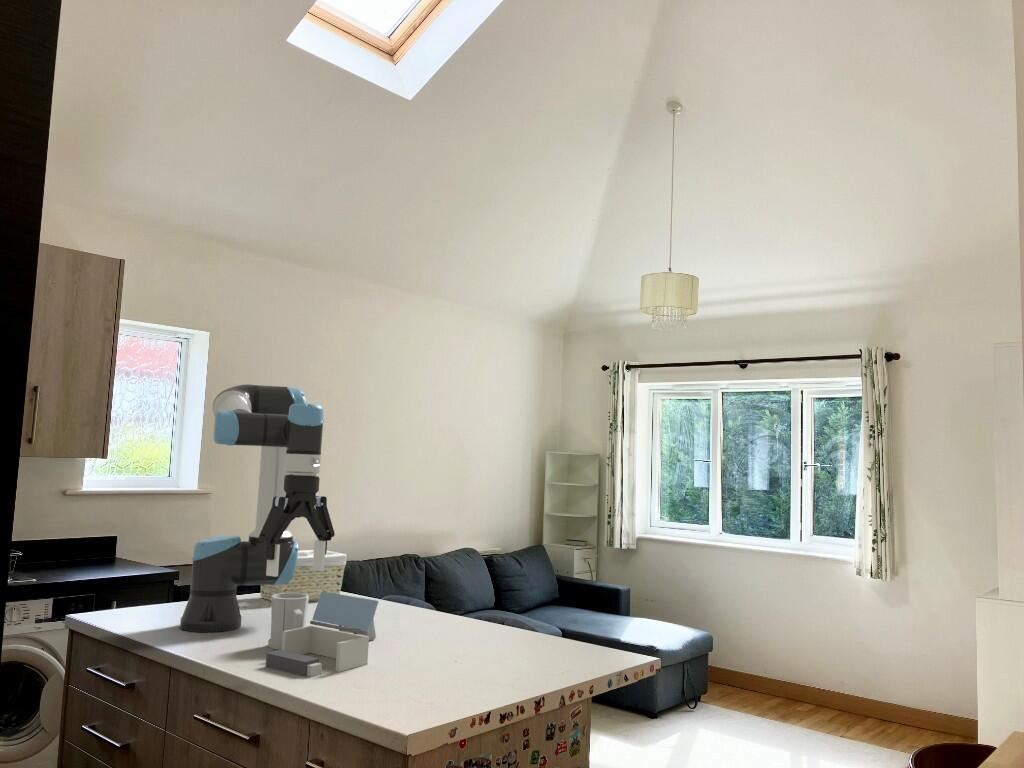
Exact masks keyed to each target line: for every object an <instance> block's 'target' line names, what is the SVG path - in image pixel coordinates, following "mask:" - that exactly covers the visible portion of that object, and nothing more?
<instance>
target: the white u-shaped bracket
mask: <svg viewBox="0 0 1024 768" xmlns="http://www.w3.org/2000/svg"><path fill="white" fill-rule="evenodd" d="M369 643H370V641H369V637H368V636H363V635H358V634H353V633H348V632H343V631H339V630H338V629H333V628H328V627H323V626H318V625H313V624H310V625H308V626H306V625H305V627H301V628H296V629H291V630H286V631H283V634H282V649H281V650H284V651H288V652H292V653H297V654H301V655H308V654H314V655H318V656H323V657H327V658H332V659H335V672H337V673H339V672H343V671H348V670H351V669H354V668H359V667H362V666H365V665H366V666H367V665H368V662H369V661H368V660H369V645H370V644H369Z"/></svg>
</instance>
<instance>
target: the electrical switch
mask: <svg viewBox="0 0 1024 768" xmlns="http://www.w3.org/2000/svg"><path fill="white" fill-rule="evenodd" d="M338 626H340V625H338ZM342 627H345V626H342ZM375 627H376V626H375V619H374V618H373V621H372V625H371V628H370V631H368V635H364V634H358V633H353V632H348V631H343V630H338V631H343V632H348V633H353V634H358V635H363V636H368V637H369V642H370V641H373V640H376V637H377V635H376V628H375ZM347 628H350V627H347ZM352 629H355V628H352ZM357 630H361V629H357ZM363 631H366V630H363Z"/></svg>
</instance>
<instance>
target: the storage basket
mask: <svg viewBox="0 0 1024 768" xmlns="http://www.w3.org/2000/svg"><path fill="white" fill-rule="evenodd" d="M313 557H314V549H310V550H309V549H308V550H303V549H302V550H298V558H297V564H296V568H295V572H294V575H293V577H292V579H291V580H290V581H289V582H288V583H286V584H278V585H273V586H272V585H260V597H261V598H262V599H265V600H268V601H271V596H272V595H274V594H280V593H301V594H306V595H308V596H309V600H308V602H318V601H319V598H320V595H321V592H328V593H334V594H340V595H341V589H342V585H343V579H344V572H345V568H346V565H347V557H348V556H347V554H346V553H341V552H336V551H331V550H327V552H326V555H325V562H324V571H319V570H313Z"/></svg>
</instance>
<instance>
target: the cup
mask: <svg viewBox="0 0 1024 768" xmlns="http://www.w3.org/2000/svg"><path fill="white" fill-rule="evenodd" d="M308 600H309V596H308V595H306V594H301V593H280V594H274V595H272V596H271V603H270V605H271V610H270V611H271V612H270V613H271V619H270V620H271V621H270V623H271V625H270V638H269V639H268V642H267V643H268V645H267V646H268V647H269V648H270V649H272V650H274V651H278V650H281V649H282V634H283V631H286V630H291V629H296V628H301V627H306V625H307V624H306V623H307V622H306V621H307V613H308V607H309V601H308Z"/></svg>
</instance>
